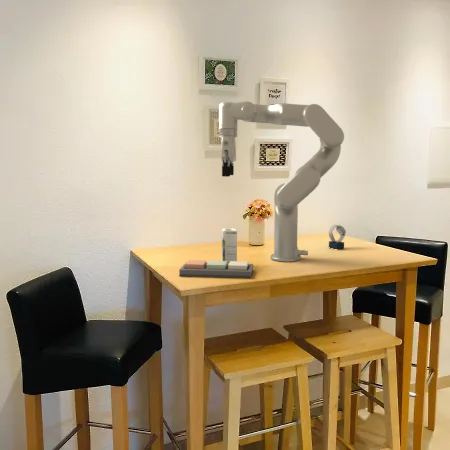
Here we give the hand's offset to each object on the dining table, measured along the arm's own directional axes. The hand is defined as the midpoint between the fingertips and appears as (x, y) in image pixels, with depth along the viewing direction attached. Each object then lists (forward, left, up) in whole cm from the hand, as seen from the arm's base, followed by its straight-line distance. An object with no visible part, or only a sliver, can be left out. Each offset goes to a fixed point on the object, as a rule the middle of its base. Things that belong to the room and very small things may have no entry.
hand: (227, 175), depth 204 cm
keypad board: (+1, +25, -35) cm, 43 cm away
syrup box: (-2, +12, -35) cm, 37 cm away
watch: (-47, -26, -35) cm, 64 cm away
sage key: (+1, +25, -32) cm, 41 cm away
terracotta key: (+9, +25, -32) cm, 42 cm away
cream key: (-7, +25, -32) cm, 42 cm away
